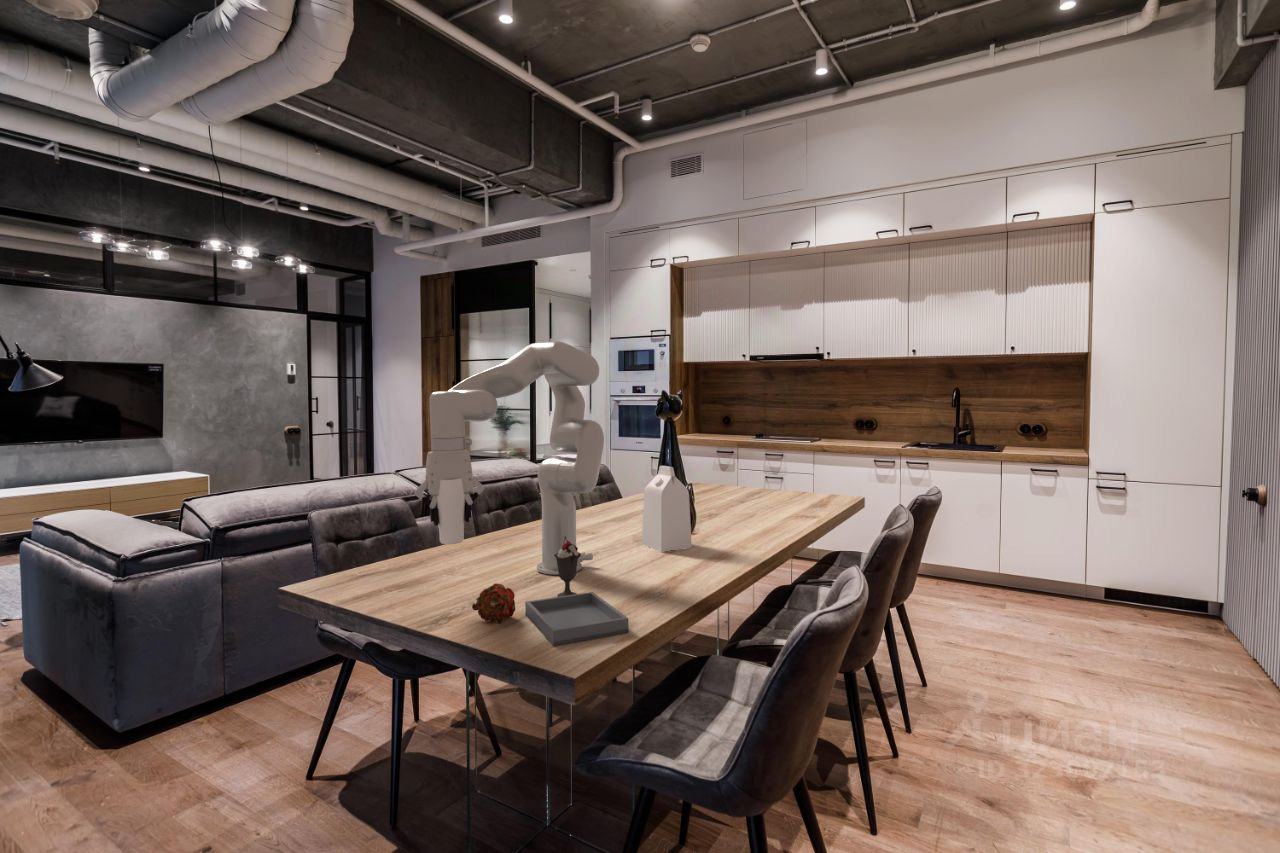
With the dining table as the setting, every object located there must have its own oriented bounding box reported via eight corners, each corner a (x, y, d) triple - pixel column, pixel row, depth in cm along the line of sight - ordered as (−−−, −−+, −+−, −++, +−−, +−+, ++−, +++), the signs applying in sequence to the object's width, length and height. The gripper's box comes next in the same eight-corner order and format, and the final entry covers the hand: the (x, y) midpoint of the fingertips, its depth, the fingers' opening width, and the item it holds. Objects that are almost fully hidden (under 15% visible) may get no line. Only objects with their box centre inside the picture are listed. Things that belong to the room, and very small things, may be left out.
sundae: (559, 601, 151) (558, 538, 151) (550, 594, 157) (549, 533, 157) (585, 597, 154) (584, 535, 154) (575, 590, 160) (574, 530, 160)
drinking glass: (458, 546, 144) (455, 480, 143) (430, 545, 145) (428, 479, 144) (472, 539, 150) (469, 475, 149) (445, 538, 152) (443, 475, 151)
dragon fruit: (501, 637, 133) (486, 628, 143) (531, 608, 136) (514, 600, 147) (475, 608, 131) (462, 600, 142) (506, 578, 135) (491, 573, 145)
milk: (691, 548, 205) (691, 467, 204) (661, 552, 199) (661, 469, 198) (671, 541, 215) (671, 464, 214) (641, 545, 210) (641, 466, 208)
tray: (592, 604, 149) (592, 591, 149) (628, 632, 131) (628, 618, 131) (525, 614, 142) (525, 601, 142) (553, 646, 124) (553, 630, 124)
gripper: (483, 442, 153) (485, 516, 154) (406, 446, 146) (409, 524, 147) (490, 444, 146) (492, 521, 148) (410, 448, 139) (413, 530, 140)
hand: (451, 522), depth 147 cm, fingers closed on drinking glass, 6 cm apart
